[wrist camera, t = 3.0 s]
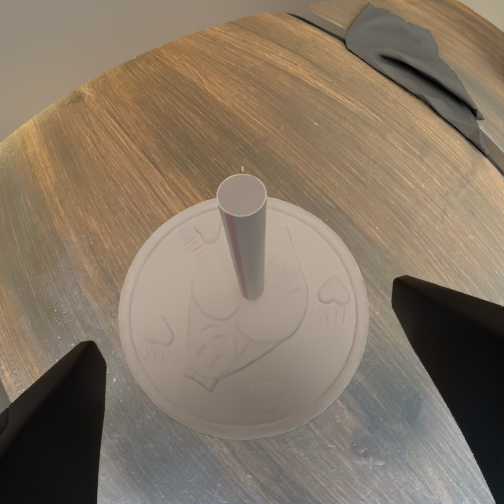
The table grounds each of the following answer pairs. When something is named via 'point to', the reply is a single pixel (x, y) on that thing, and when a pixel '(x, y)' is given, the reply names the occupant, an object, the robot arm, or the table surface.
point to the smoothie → (243, 315)
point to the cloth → (414, 66)
